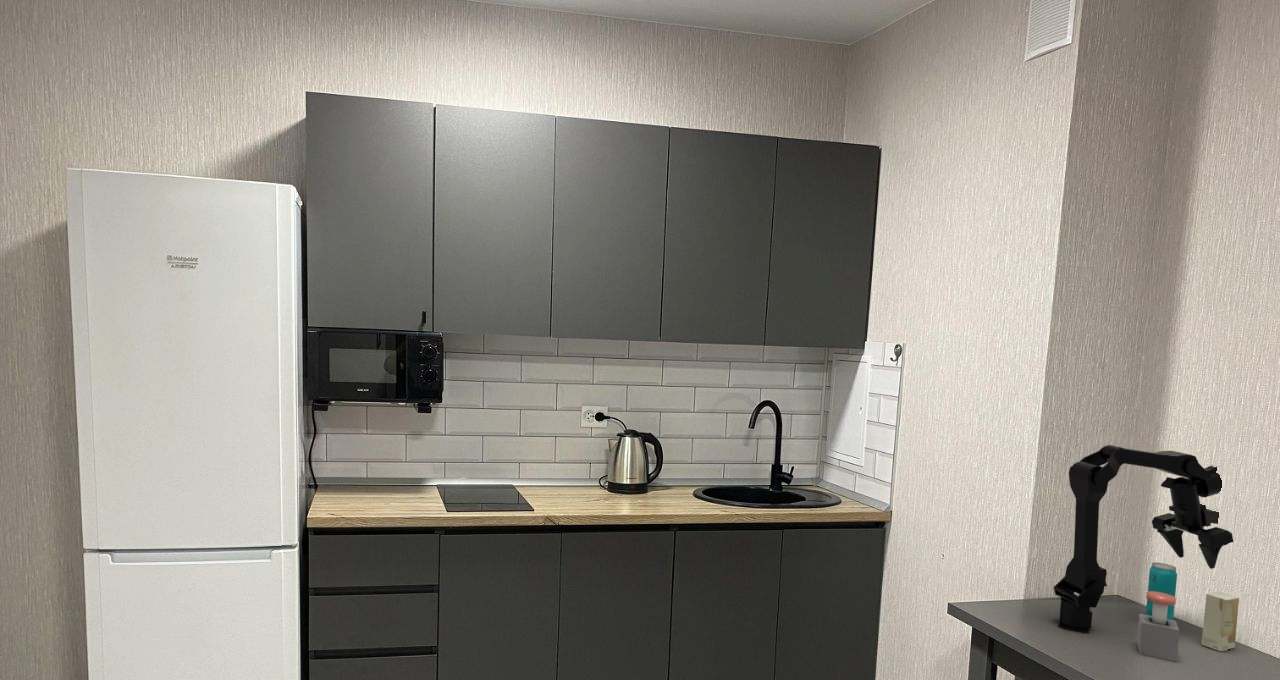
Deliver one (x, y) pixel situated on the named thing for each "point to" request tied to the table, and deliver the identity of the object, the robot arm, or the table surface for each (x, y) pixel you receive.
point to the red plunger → (1160, 605)
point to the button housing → (1158, 638)
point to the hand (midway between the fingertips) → (1196, 562)
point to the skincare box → (1220, 621)
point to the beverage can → (1162, 584)
